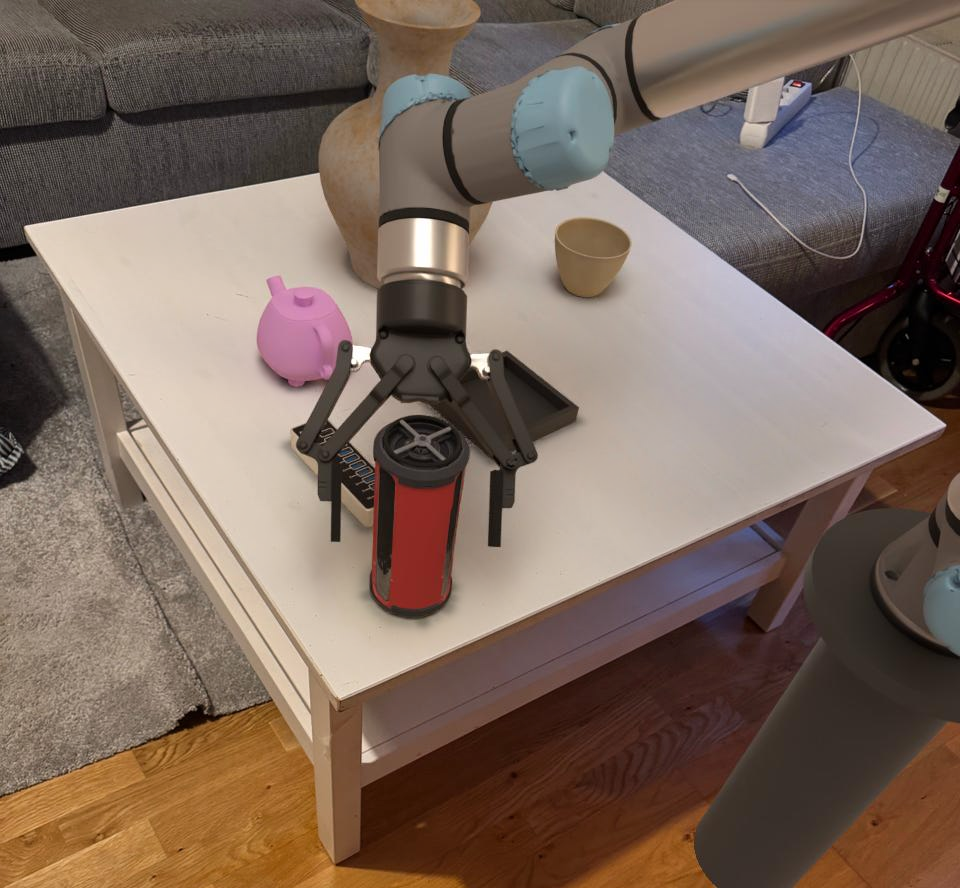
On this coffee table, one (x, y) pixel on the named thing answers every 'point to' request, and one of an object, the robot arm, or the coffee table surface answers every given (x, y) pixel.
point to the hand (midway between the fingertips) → (415, 544)
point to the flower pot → (589, 254)
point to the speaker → (416, 513)
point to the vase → (354, 133)
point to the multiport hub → (347, 474)
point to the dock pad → (532, 396)
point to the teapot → (301, 332)
